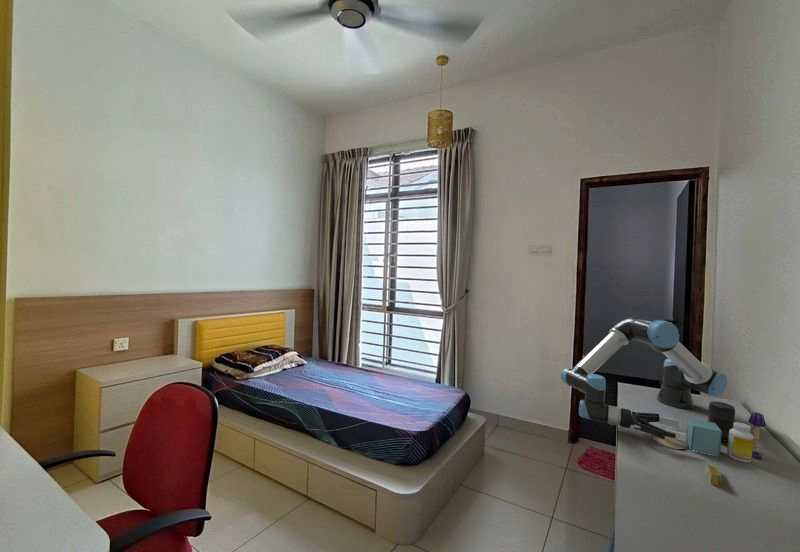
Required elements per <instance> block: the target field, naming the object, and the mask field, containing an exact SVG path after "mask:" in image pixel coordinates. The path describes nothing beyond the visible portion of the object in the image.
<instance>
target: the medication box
mask: <svg viewBox="0 0 800 552" xmlns="http://www.w3.org/2000/svg"><path fill="white" fill-rule="evenodd" d="M702 467H703V470H704V472H705V474H706V476H707V478H708V480H709V483H710V484H711V485H712V486H716V487H719V488H722V480H723V479H722V473H721V472H720V470H719V468H718V467H717V465H716V463H715V462H714V460H713V458H711V457H704V456H703V458H702Z"/></svg>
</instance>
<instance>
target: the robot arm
mask: <svg viewBox="0 0 800 552" xmlns="http://www.w3.org/2000/svg"><path fill="white" fill-rule="evenodd" d="M633 341H636V342H641V343H644V344H647V346H649V347H650V348H651V349H652V350H654V352H655V351H656V352H658V353H661V354H662V355H664V356H665V357H666V359H665V360H664V362H663V368H662V369H663V372H662V383H661V384H662V385H661V387H660V389H659V391H658V393H657V395H656V400H657V401H658V402H660V403H662V404H664V405H667V406H670V407H674V408H679V409H693V408H694V399H693V396H692V393H691V389H692V390H694V391H696V392H697V391H698V392H700V393H703V394H706V395H708V396H712V397H719V396H722V394H723V393H724V392H725V391H726V389H727V386H728V378H727V375H726V374H725V373H722V372H721V371H716V370H714V369H713V368H712V367H711V366H710V365H708V364H707V363H705V362H702V361H700V360H699V359H698V358H697V357H696V356H694V355H693V353H692V352H691V351H689V349H687V347H685V346H684V344H682V343H681V342H680V334H679V329H678V327H677V326H676V325H675V324H673V323H672V322H669V321H666V320H663V319H654V318H649V317H644V316H638V315H635V316H630V317H627V318H624V319H622V320H620V321H619V322H617V323H616V324H615V325H614V326H613V327H611V328H610V329H609V331H608V334H607V335H606V336H605V337H604V338H603V339H602V340H601V341H600V342H599V343H597V344H596V345H595V346H594V348H592V349H591V350H590V351H589V352H588V353H587V354H586V355H585V356H584V357H583V358H582V359H581V360H580V361H578V363H577V364H575V366H573V367H572V368H569V367H567V368H564V369H563V370H562V371H561V374H560V379H561V381H562V382H563V383H564V384H566V386H569V387H572V388H573V389H576V390H578V391H579V392H582V393H584V399H580V400H579V407H578V416H580V417H581V418H583V419H587V420H590V421H595V422H599V423H600V422H601V423H604V424H607V425H610V426H619V427H621V428H626V429H630V428H631V427H632V426H633V428H634V430H637V431H641V432H644V433H646V434H650V435H652V436H657V437H659V438H662V439H665V437H669V438H673V439H677V440H681V441H683V442H686V434H687V433H686V432H685V433H684V432H679V431H675V430H672V429H671V430H670V429H666V428H665V429H663V428H661V427H658V426H657V425H654V424H652V423H659V424H661V425H666V426H671V427H674V428H679V425H680V420H678V419H674V418H669V417H665V416H660V414H659V413H654V412H653V413H651V412H640V411H639V412H637V411H631V409H628V408H623V407H621V408H620V407H618V406H614V405H609V404H605V400H606V399H605V398H606V389H607V386H606V385H607V383H606V378H605V377H604V376H603V375H600V374H595V373H596V371H598V369H599V368H601V367H602V366H603V365H604V364H605V363H606V361H608V360H609V359H610V358H611V357H612V356H613V355H614V354H615V353H616V352H617V351H618V350H619V349H621V347H623V345H624V346H627V345H628V344H629V343H630V342H633Z"/></svg>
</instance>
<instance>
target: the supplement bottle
mask: <svg viewBox="0 0 800 552" xmlns="http://www.w3.org/2000/svg"><path fill="white" fill-rule="evenodd" d="M751 429H752V427H751V425H749V424H746V423H743V422H739V421H738V422H737V421H736V422H735V421H734V424H733V428H732V429H730V430H729V440H728V444H727V452H726V454H727V456H728V457H729V458H731V459H733V460H735V461H737V460H738V461H737V462H741V463H747V464H748V463H751V462H752V449H753V439H754V437H753V433H751Z"/></svg>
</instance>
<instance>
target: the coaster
mask: <svg viewBox="0 0 800 552" xmlns="http://www.w3.org/2000/svg"><path fill="white" fill-rule="evenodd" d="M652 436H653V437H652V439H653V441H654V440H655V441H656V442H655V441H654V442H655V443H657V442H658V443H660V444H662V445H665V446H667V447H666V448H668V447H671V448H675V449H674V450H676V449H686V450H687V449H688V448H689V447H688V445H687V443H686V441H682V440H677V439H673V438H669V437H665V439H662V438H659V437H657V436H654V435H652ZM658 443H657V444H658ZM660 444H659V445H660ZM662 445H661V446H662ZM665 446H664V447H665ZM671 448H670V449H671Z"/></svg>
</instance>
